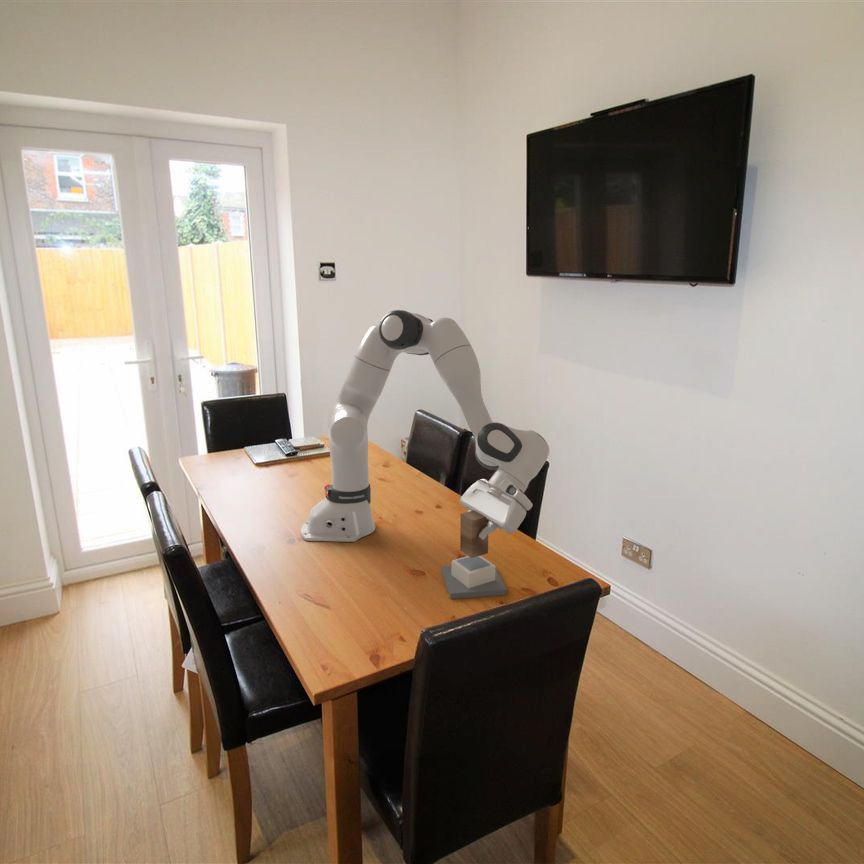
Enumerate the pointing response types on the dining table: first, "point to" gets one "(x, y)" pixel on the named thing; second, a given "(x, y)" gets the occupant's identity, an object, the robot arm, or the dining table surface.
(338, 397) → the robot arm
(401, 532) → the dining table surface
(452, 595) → the base board
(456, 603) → the dining table surface
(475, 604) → the dining table surface
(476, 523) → the walnut column
